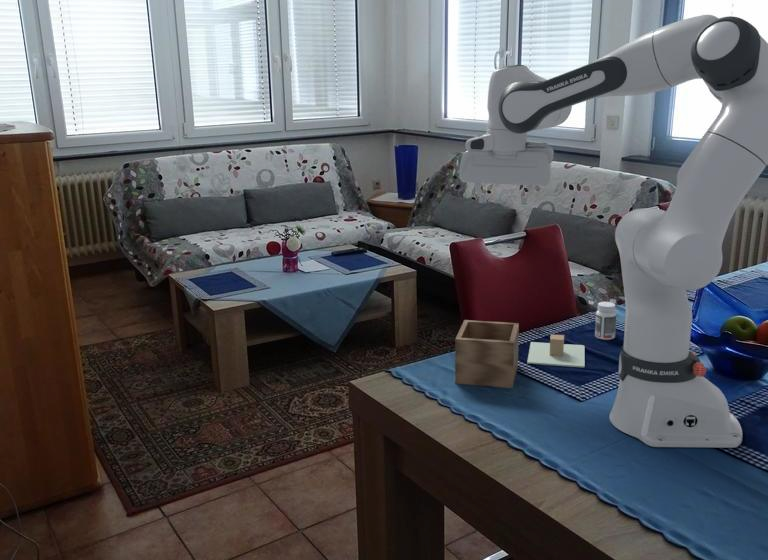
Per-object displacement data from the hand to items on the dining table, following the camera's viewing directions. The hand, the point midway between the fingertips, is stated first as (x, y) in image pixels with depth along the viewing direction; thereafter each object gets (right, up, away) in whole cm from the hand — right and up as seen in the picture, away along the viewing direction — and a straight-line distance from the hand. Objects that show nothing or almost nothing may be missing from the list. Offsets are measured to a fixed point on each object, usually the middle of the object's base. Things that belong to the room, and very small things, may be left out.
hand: (503, 203), depth 165 cm
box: (-5, -38, -7) cm, 39 cm away
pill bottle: (+27, -31, +13) cm, 43 cm away
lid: (+13, -35, +3) cm, 37 cm away
